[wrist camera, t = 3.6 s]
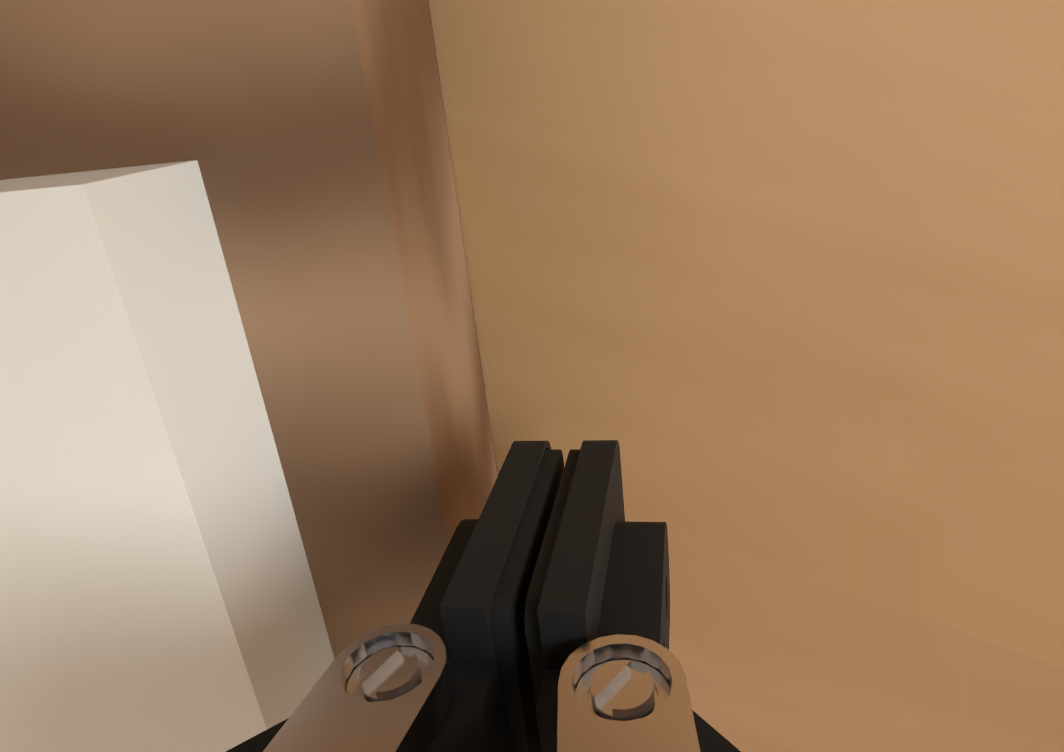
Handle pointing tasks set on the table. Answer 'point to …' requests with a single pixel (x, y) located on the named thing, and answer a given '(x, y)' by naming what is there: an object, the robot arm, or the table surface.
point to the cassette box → (138, 480)
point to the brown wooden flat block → (299, 245)
